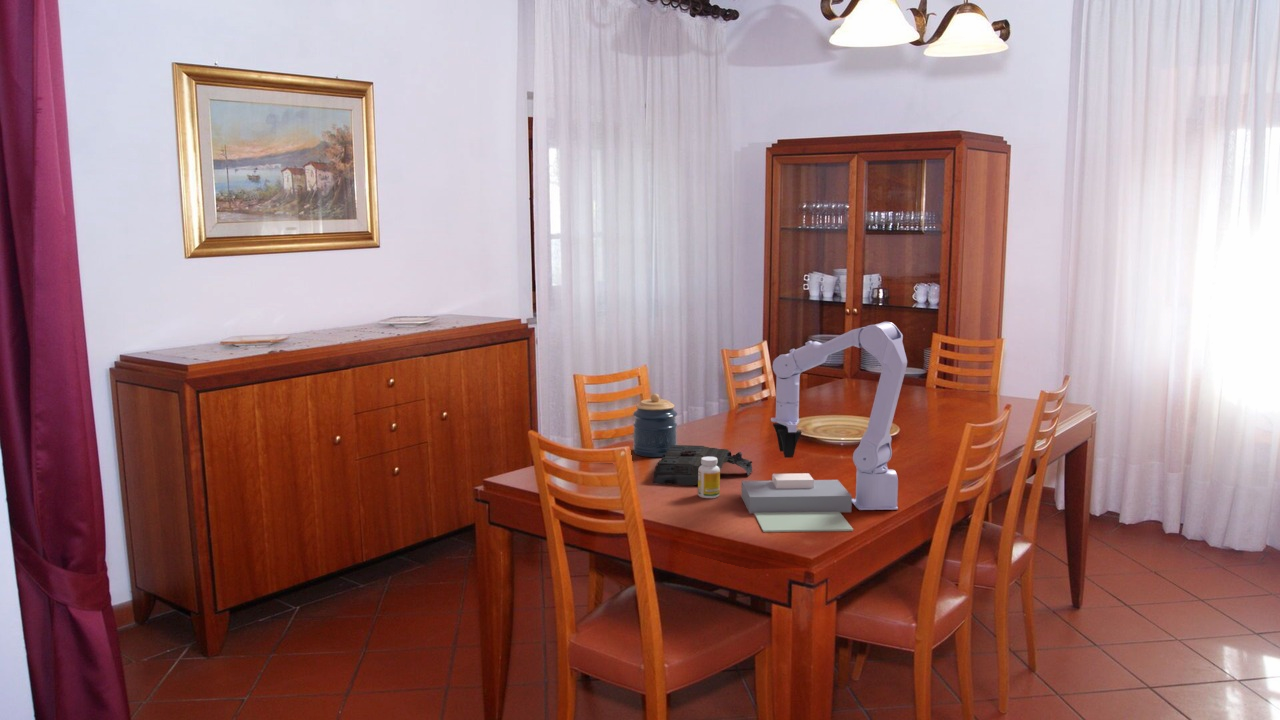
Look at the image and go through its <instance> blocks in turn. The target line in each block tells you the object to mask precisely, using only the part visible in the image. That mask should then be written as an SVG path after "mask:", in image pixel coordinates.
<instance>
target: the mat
mask: <svg viewBox="0 0 1280 720" xmlns="http://www.w3.org/2000/svg"><path fill="white" fill-rule="evenodd" d="M753 515H754V517H755V519H756V521H757V522H758V524H759V526H760V528H761V531H762V532H763V533H793V532H795V533H796V532H797V533H800V532H801V533H802V532H804V533H805V532H806V533H807V532H808V533H810V532H812V533H813V532H814V533H815V532H854V527H852V526H851V524H850V523H849V522H848V520H847V519H846V518H845V517H844V515H842V512H762V513H754V514H753Z"/></svg>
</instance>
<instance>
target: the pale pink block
mask: <svg viewBox="0 0 1280 720" xmlns="http://www.w3.org/2000/svg"><path fill="white" fill-rule="evenodd" d="M771 479H772V480H771V481H772V482H773V483H774V485H775V487H776V488H814V480H815V479H814V478H813V477H812V475H811V474H810V473H808V472H807V473H806V472H805V473H804V472H803V473H772V477H771Z"/></svg>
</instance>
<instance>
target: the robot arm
mask: <svg viewBox="0 0 1280 720" xmlns="http://www.w3.org/2000/svg"><path fill="white" fill-rule="evenodd" d="M903 338H904V335H903V333H902V332H901V331H900V329H899V328H898V327H897V325H896V324H894V323H893V322H890V321H883V322H880V323H876V324H869V325H866V326H863V327H858V328H854V329H851V330H849V331H847V332H845V333H842V334H840V335H838V336H836V337H834V338H833V339H832V338H831V339H830V340H828V341H826V342H823V343H822V342H819V341H813V340H809V341H807V342H805V343H804V344H805V345H803V346H801V347H799V348H796V349H795V348H791V349H790V350H789V353H786V354H779V356H777V357H776V358H774V360H773V361H772V370H773V373H774V375H775V376H776V381H775V382H776V383H775V385H776V388H775V390H776V391H775V417H771V418H770V421H771V422H772V426H773V427H774V430H775V433H776V438H777V443H778V444H777V445H778V449H779V452H783V455H784V456H783V457H784V458H787V459H788V458H790V459H791V458H794V455H795V453H796V452H795V451H796V447H797V444H798V441H799V438H800V437H801V436H802V430H801V429H800V430H798V424H799V423H800V418H799V416H800V414H799V413H800V411H799V410H800V380H801V379H800V376H801V374H802V373H803V372H805V371H808V370H811V369H812V368H815V367H817V366H820V365H822V364H825V363H826V361H827V359H828V356H830V355H832V354H835V353H837V352H841V351H843V350H845V349H848V348H851V347H856V348H858V349H860V348H863V349H864V350H865V351H866V352H868V353H869V354H870V355H872V356H873V357H874V358H875V359H876V360H877V361H878V362H879V364H880V366H881V367H882V369H881V372H880V375H879V376H880V377H879V380H878V385H877V388H876V392H875V396H874V401H873V405H872V407H871V411H870V416H869V420H868V425H867V427H866V431H865V432H864V433H863V435H862V437H861V438H860V443H859V445H858V446H857V448H855V450H854V451H853V454H852V461H853V463H854V466H855V467H856V474H855V476H856V479H855V480H856V481H855V482H856V483H855V498H852V504H853V505H854V506H855V508H856V509H858V510H859V511H876V510H877V511H880V510H881V511H884V510H888V511H890V510H891V511H894V510H898V509H899V507H898V491H899V479H898V474H897V472H896V470H895V469H891V468H890V469H889V468H888V462H889V461H890V460H892V459H891V458H892V457H893V456H892V455H893V450H892V440H893V439H892V438H893V437H892V436H891V433H890V432H891V427H892V425H893V420H894V418H895V417H894V416H895V413H896V409H897V405H898V400H899V398H900V393H901V389H902V386H903V382H904V378H905V374H906V370H907V367H908V359H907V355H906V352H905V346H904V343H903Z"/></svg>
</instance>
